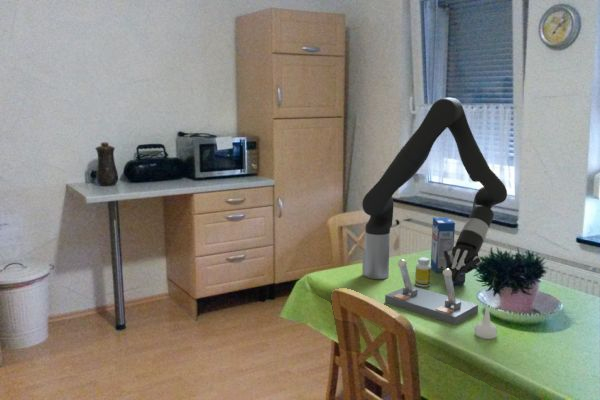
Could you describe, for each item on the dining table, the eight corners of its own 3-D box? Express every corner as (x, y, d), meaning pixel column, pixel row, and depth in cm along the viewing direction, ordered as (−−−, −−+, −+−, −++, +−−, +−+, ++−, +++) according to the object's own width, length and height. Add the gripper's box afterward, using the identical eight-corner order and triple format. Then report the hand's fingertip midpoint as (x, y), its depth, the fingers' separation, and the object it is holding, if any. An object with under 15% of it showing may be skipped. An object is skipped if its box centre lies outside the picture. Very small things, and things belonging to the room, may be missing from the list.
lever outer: (446, 305, 174) (440, 270, 169) (450, 299, 176) (445, 265, 170) (454, 307, 172) (448, 272, 167) (458, 302, 174) (453, 267, 168)
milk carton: (452, 273, 215) (455, 223, 211) (436, 273, 215) (438, 223, 211) (446, 265, 225) (448, 217, 221) (430, 265, 225) (432, 217, 221)
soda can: (457, 288, 198) (459, 256, 196) (441, 283, 203) (443, 252, 201) (468, 284, 202) (470, 252, 200) (452, 279, 207) (453, 248, 205)
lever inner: (404, 292, 185) (395, 262, 179) (408, 287, 187) (400, 257, 181) (411, 294, 183) (402, 263, 177) (415, 289, 185) (407, 258, 179)
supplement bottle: (430, 287, 199) (431, 261, 197) (415, 286, 200) (416, 260, 198) (430, 282, 204) (431, 257, 202) (415, 281, 205) (416, 256, 203)
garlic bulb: (469, 335, 161) (469, 309, 159) (485, 328, 164) (484, 303, 162) (486, 343, 155) (486, 317, 153) (502, 336, 158) (502, 311, 156)
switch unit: (385, 302, 185) (385, 289, 184) (409, 291, 194) (409, 280, 194) (455, 324, 166) (455, 311, 166) (477, 312, 176) (478, 299, 175)
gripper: (450, 225, 180) (428, 270, 173) (488, 232, 170) (467, 280, 164) (457, 238, 184) (437, 282, 178) (495, 245, 175) (475, 292, 169)
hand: (451, 281), depth 171 cm, fingers closed
